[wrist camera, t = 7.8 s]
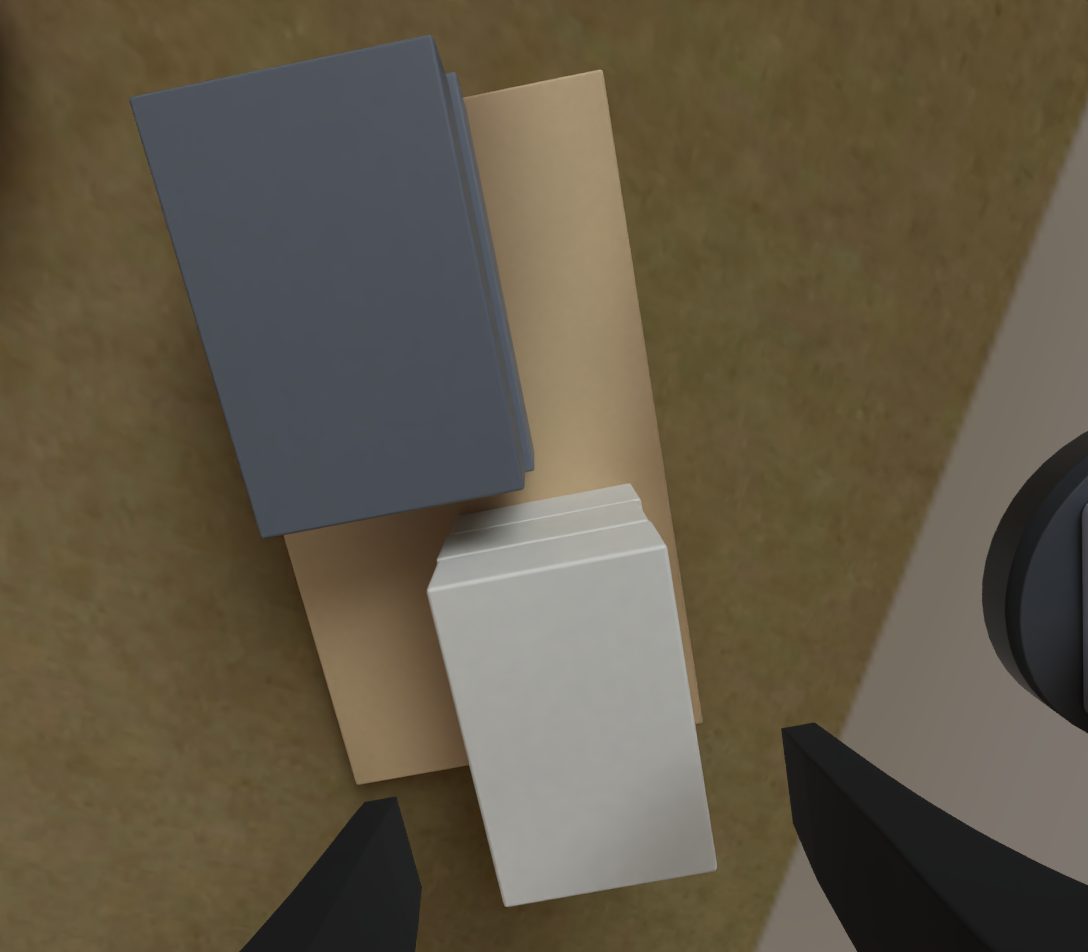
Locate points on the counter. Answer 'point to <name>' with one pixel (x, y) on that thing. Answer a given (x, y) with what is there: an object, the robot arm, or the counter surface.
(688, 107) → the counter surface
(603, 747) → the white book
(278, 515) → the grey books
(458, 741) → the shelf board
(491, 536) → the white books
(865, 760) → the robot arm
